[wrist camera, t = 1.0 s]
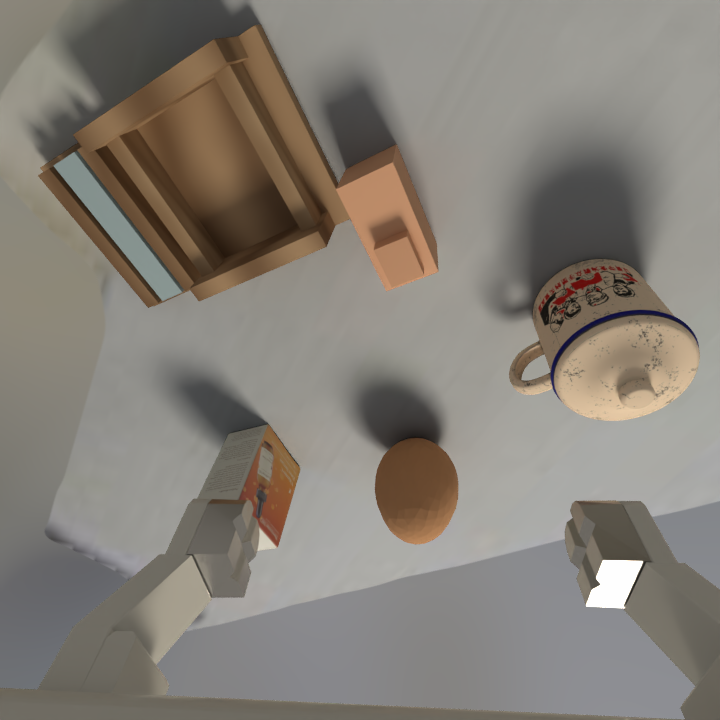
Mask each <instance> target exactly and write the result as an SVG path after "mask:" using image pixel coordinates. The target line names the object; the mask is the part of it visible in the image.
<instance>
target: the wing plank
mask: <svg viewBox="0 0 720 720" xmlns="http://www.w3.org/2000/svg"><path fill="white" fill-rule="evenodd" d="M54 167H55V168H56V170H57V171H58V172H59V173H60V175H61V176H62V177H63V178H64V180H65V181H66V182H67V183H68V184H69V186H70V187H71V188H72V189H73V191H74V192H75V193H76V194H77V196H78V197H79V198H80V199H81V201H82V202H83V203H84V204H85V206H86V207H87V208H88V209H89V211H90V212H91V213H92V214H93V215H94V217H95V218H96V219H97V220H98V222H99V223H100V224H101V225H102V227H103V228H104V229H105V230H106V232H107V233H108V234H109V235H110V237H111V238H112V239H113V240H114V242H115V243H116V244H117V245H118V246H119V248H120V249H121V250H122V251H123V253H124V254H125V255H126V256H127V258H128V259H129V260H130V261H131V263H132V264H133V265H134V266H135V268H136V269H137V270H138V271H139V272H140V274H141V275H142V276H143V277H144V279H145V280H146V281H147V282H148V284H149V285H150V286H151V287H152V289H153V290H154V291H155V292H156V294H157V295H158V296H159V297H160V299H161V300H162V301H164V300H166V299H169V298H171V297H173V296H175V295H177V294H180V293H182V292H183V291H184V289H183V288H182V286H181V285H180V284H179V282H178V281H177V280H176V278H175V277H174V276H173V275H172V273H171V272H170V271H169V269H168V268H167V267H166V265H165V264H164V263H163V261H162V260H161V259H160V258H159V256H158V255H157V254H156V252H155V251H154V250H153V248H152V247H151V246H150V245H149V243H148V242H147V241H146V239H145V238H144V237H143V235H142V234H141V233H140V231H139V230H138V229H137V228H136V226H135V225H134V224H133V222H132V221H131V220H130V218H129V217H128V216H127V214H126V213H125V212H124V211H123V209H122V208H121V207H120V205H119V204H118V203H117V201H116V200H115V199H114V197H113V196H112V195H111V194H110V192H109V191H108V190H107V188H106V187H105V186H104V184H103V183H102V182H101V180H100V179H99V178H98V177H97V175H96V174H95V173H94V171H93V170H92V169H91V167H90V166H89V165H88V164H87V162H86V161H85V160H84V158H83V157H82V156H81V154H80V153H79V152H78V151H76V152H73V153H72V154H70V155H69V156H67V157H66V158H64V159H63V160H61V161H60V162H58V163H57V164H55V165H54Z"/></svg>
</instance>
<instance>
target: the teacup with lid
mask: <svg viewBox="0 0 720 720" xmlns="http://www.w3.org/2000/svg"><path fill="white" fill-rule="evenodd" d="M533 322H534V326H535V328H536V331H537V334H538V337H539V341H538V342H536V343H534V344H532V345H530V346H528V347H527V348H525V349H524V350H523V351H521V352H520V353H519V354H518V355H517V356H516V358H515V359H514V361H513V363H512V365H511V367H510V372H509V378H510V382H511V384H512V385H513V387H514V388H515V389H516V390H517V391H518V392H520V393H522V394H528V395H533V394H539V393H542V392H545V391H548V390H550V389H552V388H553V390H554V392H555V394H556V395H557V397H558V398H559V399H560V400H561V401H562V402H563V403H564V404H565V405H566V406H567V407H568V408H570V409H571V410H573V411H574V412H576V413H578V414H580V415H583V416H585V417H589V418H593V419H598V420H607V421H616V420H627V419H632V418H637V417H640V416H644V415H647V414H649V413H652V412H654V411H656V410H659V409H660V408H662V407H664V406H666V405H667V404H669V403H670V402H672V401H673V400H675V399H676V398H677V397H678V396H679V395H680V394H681V393H683V392H684V390H685V389H686V388H687V387H688V386H689V384H690V383H691V382H692V380H693V378H694V376H695V374H696V372H697V369H698V365H699V359H700V353H699V345H698V341H697V338H696V336H695V334H694V333H693V331H692V330H691V329H690V328H689V327H688V325H686V324H685V323H684V322H683V321H681V320H680V319H678V318H676V317H675V316H674V315H673V314H672V313H671V312H670V310H669V309H668V308H667V307H666V306H665V304H664V303H663V302H662V301H661V300H660V298H659V297H658V296H657V295H656V294H655V292H654V291H653V290H652V289H651V288H650V286H649V285H648V284H647V283H646V281H645V280H644V279H643V278H642V277H641V275H640V274H639V273H638V272H637V271H636V270H634V269H633V268H632V267H630V266H629V265H627V264H625V263H622V262H619V261H615V260H610V259H593V260H587V261H583V262H579V263H576V264H574V265H571V266H569V267H567V268H565V269H563V270H562V271H560V272H559V273H557V274H556V275H555V276H553V277H552V278H551V279H550V280H549V281H548V282H547V283H546V284H545V285H544V287H543V288H542V289H541V291H540V292H539V294H538V296H537V298H536V301H535V304H534V308H533ZM544 354H545V357H546V359H547V362H548V365H549V368H550V371H551V372H550V373H548V374H546V375H544V376H542V377H539V378H537V379H534V380H529V381H523V380H521V378H522V374H523V371H524V369H525V368H526V366H527V365H528V364H529V363H530V362H531V361H533V360H534V359H536V358H538V357H540V356H541V355H544Z"/></svg>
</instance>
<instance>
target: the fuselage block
mask: <svg viewBox="0 0 720 720" xmlns="http://www.w3.org/2000/svg"><path fill="white" fill-rule="evenodd" d="M336 191H337V193H338V195H339V197H340V199H341V201H342V203H343V205H344V207H345V209H346V211H347V213H348V215H349V217H350V219H351V221H352V223H353V225H354V227H355V229H356V231H357V233H358V235H359V237H360V239H361V241H362V243H363V245H364V247H365V249H366V251H367V253H368V255H369V257H370V259H371V261H372V263H373V265H374V267H375V269H376V271H377V273H378V275H379V277H380V279H381V281H382V283H383V285H384V287H385V289H386V291H388V290H391V289H394V288H396V287H399V286H402V285H404V284H407V283H410V282H412V281H415V280H418V279H421V278H423V277H426V276H429V275H431V274H434V273H437V272H438V256H437V243H436V241H435V238H434V236H433V233H432V231H431V228H430V226H429V223H428V221H427V218H426V216H425V213H424V211H423V208H422V206H421V203H420V201H419V198H418V196H417V194H416V191H415V189H414V186H413V184H412V181H411V179H410V176H409V174H408V171H407V169H406V166H405V164H404V161H403V159H402V156H401V154H400V151H399V149H398V146H397V144H396V145H394V146H392V147H390V148H388V149H386V150H384V151H382V152H380V153H378V154H376V155H374V156H371V157H369V158H367V159H365V160H363V161H361V162H359V163H357V164H355V165H353V166H351V167H349V168H347V169H346V170H345V172H344V174H343V176H342V178H341V180H340V182H339V184H338V186H337V188H336Z"/></svg>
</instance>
